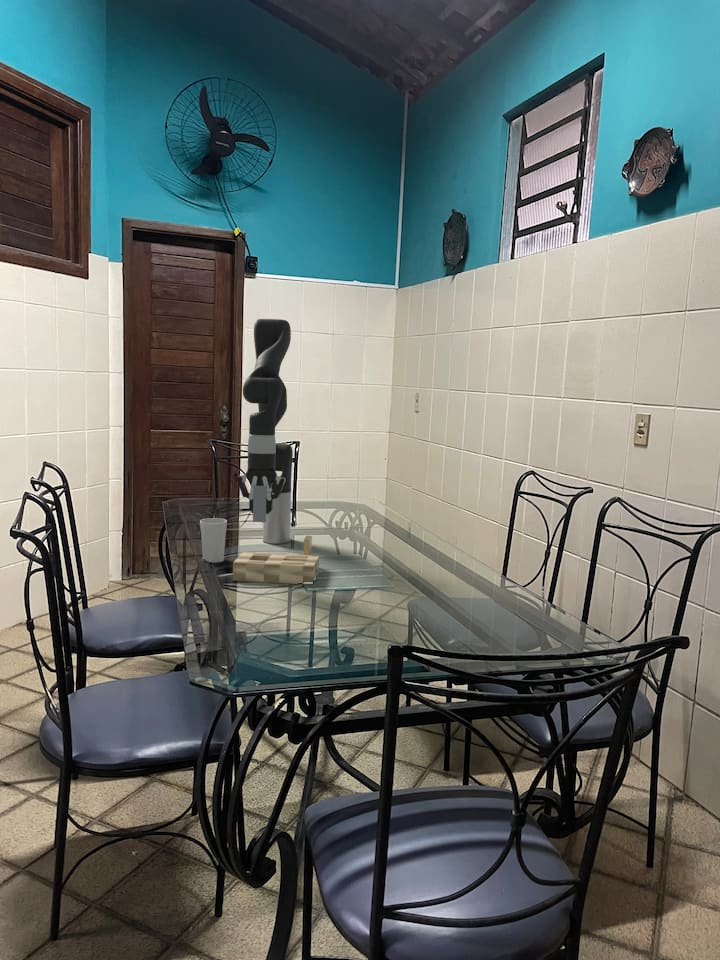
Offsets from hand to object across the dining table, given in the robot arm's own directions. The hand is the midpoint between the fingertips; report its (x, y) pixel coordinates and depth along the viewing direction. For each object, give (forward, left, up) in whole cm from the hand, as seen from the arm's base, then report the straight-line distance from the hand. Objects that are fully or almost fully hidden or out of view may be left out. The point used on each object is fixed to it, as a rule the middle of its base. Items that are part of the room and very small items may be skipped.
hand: (260, 512), depth 191 cm
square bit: (0, 0, -2) cm, 2 cm away
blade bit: (-11, +12, -18) cm, 24 cm away
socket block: (0, +5, -18) cm, 19 cm away
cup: (-14, -17, -18) cm, 28 cm away
